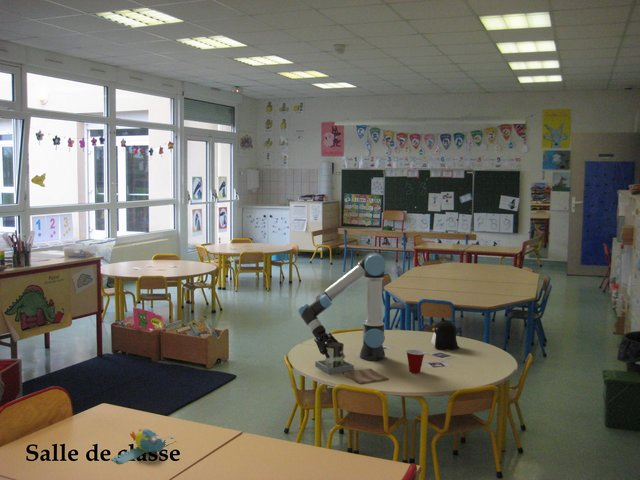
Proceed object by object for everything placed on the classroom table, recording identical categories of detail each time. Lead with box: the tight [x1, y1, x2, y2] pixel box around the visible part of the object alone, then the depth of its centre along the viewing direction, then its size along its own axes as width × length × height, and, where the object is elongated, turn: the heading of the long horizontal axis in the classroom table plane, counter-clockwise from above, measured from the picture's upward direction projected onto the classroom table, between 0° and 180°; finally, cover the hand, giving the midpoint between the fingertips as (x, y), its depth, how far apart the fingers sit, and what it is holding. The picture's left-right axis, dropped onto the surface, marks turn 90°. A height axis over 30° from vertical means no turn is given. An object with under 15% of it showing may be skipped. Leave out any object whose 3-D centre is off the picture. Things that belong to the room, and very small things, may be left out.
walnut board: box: [342, 368, 390, 385], centre depth 340 cm, size 18×18×1 cm
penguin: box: [430, 319, 460, 350], centre depth 401 cm, size 18×18×17 cm
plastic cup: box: [405, 349, 426, 374], centre depth 350 cm, size 11×11×12 cm
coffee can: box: [325, 341, 345, 368], centre depth 354 cm, size 10×10×14 cm
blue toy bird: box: [110, 428, 175, 465], centre depth 245 cm, size 28×9×15 cm
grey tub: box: [314, 359, 355, 375], centre depth 355 cm, size 16×16×3 cm
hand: (338, 360), depth 353 cm, fingers closed on coffee can, 10 cm apart
